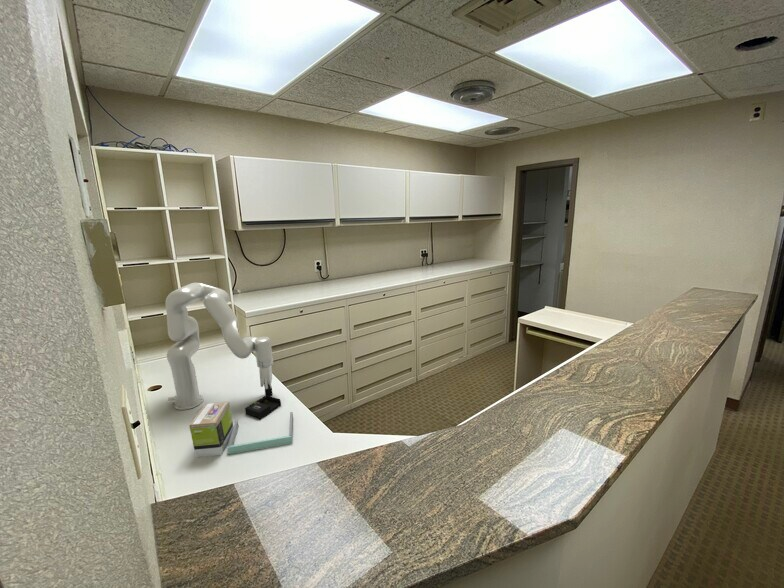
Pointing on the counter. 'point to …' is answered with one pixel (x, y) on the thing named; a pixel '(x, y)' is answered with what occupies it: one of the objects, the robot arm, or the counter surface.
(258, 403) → the battery charger
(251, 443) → the dock
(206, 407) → the tea box
